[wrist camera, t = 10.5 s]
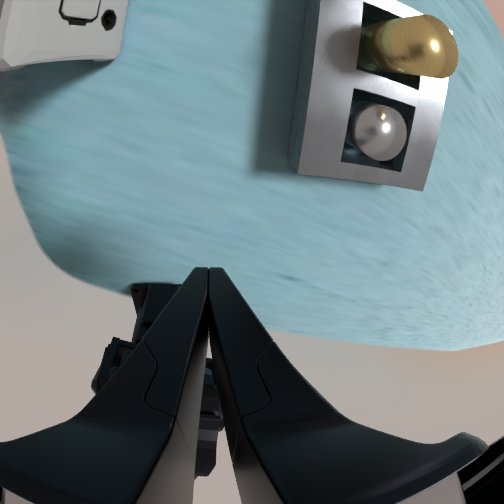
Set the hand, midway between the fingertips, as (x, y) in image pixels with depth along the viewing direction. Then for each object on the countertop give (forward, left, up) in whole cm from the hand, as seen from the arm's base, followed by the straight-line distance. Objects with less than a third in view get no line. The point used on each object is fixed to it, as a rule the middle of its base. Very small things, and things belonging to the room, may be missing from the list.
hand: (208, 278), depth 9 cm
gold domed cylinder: (+10, -10, -12) cm, 18 cm away
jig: (+7, -10, -12) cm, 17 cm away
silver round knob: (+4, -10, -12) cm, 16 cm away
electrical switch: (+12, +9, -12) cm, 19 cm away
